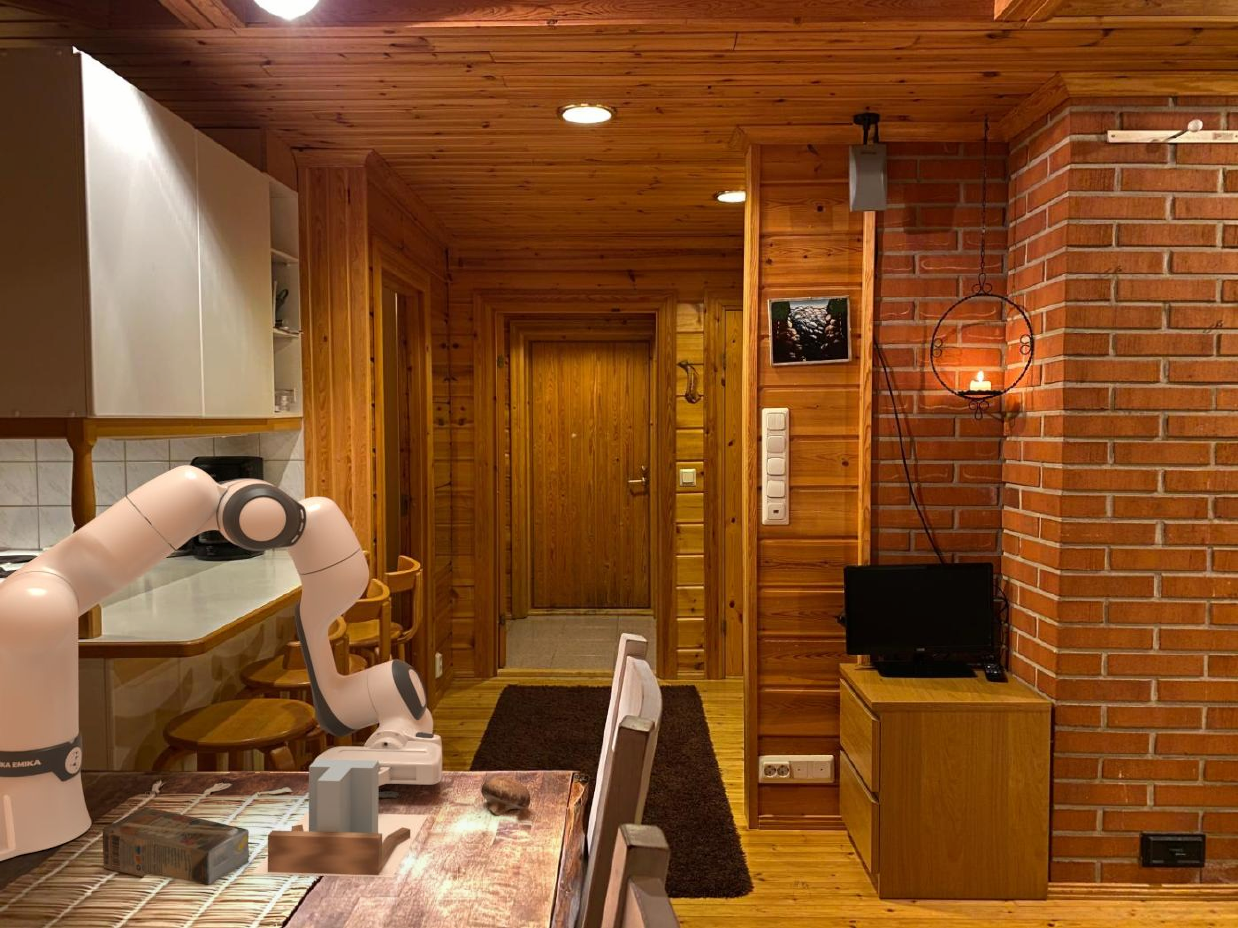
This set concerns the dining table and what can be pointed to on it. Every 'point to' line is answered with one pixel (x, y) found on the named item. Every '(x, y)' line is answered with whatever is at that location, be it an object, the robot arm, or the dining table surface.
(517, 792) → the mushroom
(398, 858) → the board
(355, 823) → the tee block
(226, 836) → the beverage carton
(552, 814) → the dining table surface
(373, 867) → the dock fence
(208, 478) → the robot arm
